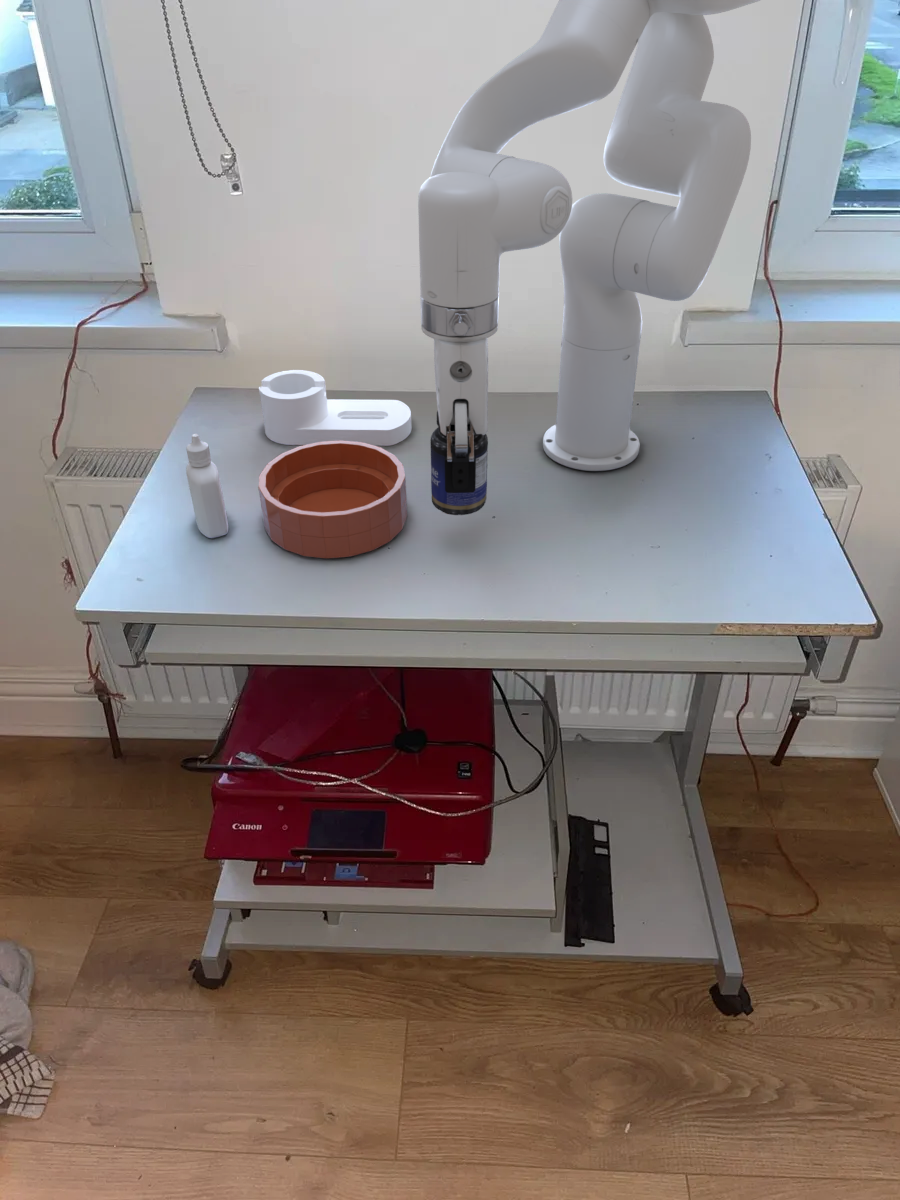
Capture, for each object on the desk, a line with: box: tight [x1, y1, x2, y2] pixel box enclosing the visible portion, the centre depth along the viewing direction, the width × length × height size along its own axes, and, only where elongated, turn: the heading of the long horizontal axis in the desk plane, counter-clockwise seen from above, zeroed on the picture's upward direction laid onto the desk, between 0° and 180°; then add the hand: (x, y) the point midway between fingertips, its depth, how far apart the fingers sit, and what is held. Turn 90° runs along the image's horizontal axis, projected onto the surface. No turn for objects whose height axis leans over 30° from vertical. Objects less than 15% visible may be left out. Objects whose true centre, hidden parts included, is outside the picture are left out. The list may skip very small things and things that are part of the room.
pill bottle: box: [429, 410, 489, 516], centre depth 101 cm, size 6×6×11 cm
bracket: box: [258, 369, 412, 447], centre depth 127 cm, size 20×9×7 cm, turn 88°
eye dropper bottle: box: [185, 433, 230, 539], centre depth 107 cm, size 4×6×12 cm
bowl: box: [257, 440, 408, 559], centre depth 110 cm, size 17×17×6 cm
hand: (459, 473), depth 102 cm, fingers closed on pill bottle, 6 cm apart
